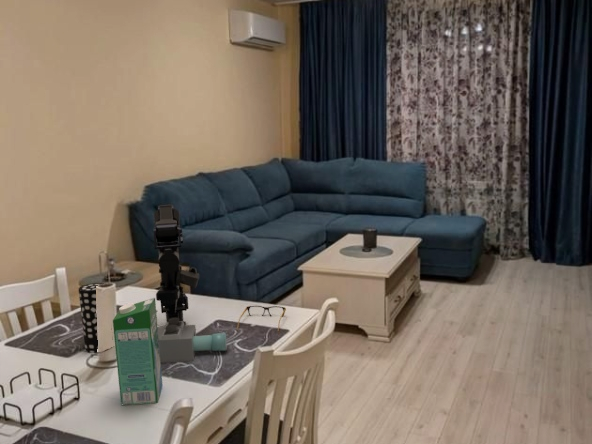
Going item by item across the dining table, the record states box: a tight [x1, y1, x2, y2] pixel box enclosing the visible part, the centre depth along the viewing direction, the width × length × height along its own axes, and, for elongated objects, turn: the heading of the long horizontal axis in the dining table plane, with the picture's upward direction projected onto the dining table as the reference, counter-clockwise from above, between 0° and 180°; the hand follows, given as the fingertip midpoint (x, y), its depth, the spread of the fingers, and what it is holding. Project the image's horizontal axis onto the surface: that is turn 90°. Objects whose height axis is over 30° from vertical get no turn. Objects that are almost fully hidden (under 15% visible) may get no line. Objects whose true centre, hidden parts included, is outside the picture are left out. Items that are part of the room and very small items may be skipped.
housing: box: [158, 320, 197, 364], centre depth 171 cm, size 11×12×8 cm
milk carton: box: [112, 297, 163, 406], centre depth 145 cm, size 9×9×25 cm
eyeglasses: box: [236, 305, 287, 332], centre depth 195 cm, size 14×14×4 cm
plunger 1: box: [169, 317, 180, 325], centre depth 173 cm, size 3×3×2 cm
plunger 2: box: [165, 325, 177, 333], centre depth 167 cm, size 3×3×2 cm
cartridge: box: [193, 332, 227, 352], centre depth 172 cm, size 20×5×5 cm, turn 94°
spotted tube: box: [78, 282, 105, 354], centre depth 177 cm, size 8×8×20 cm
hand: (173, 313), depth 172 cm, fingers closed
